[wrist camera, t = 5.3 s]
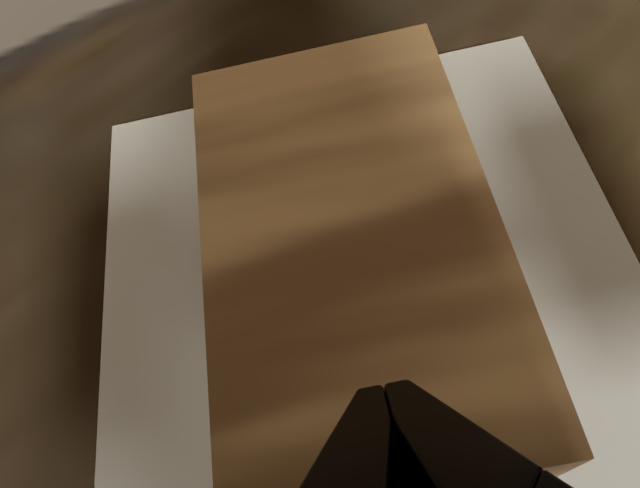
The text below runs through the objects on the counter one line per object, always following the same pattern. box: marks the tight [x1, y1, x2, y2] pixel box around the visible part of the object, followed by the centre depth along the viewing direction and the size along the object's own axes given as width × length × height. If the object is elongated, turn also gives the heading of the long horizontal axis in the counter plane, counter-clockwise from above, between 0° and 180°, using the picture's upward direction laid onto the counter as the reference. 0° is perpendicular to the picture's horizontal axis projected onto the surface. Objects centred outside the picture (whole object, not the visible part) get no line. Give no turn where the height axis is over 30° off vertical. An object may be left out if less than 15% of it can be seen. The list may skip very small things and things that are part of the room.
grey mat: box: [94, 36, 640, 488], centre depth 16 cm, size 22×16×1 cm
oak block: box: [192, 23, 594, 488], centre depth 15 cm, size 4×7×12 cm
